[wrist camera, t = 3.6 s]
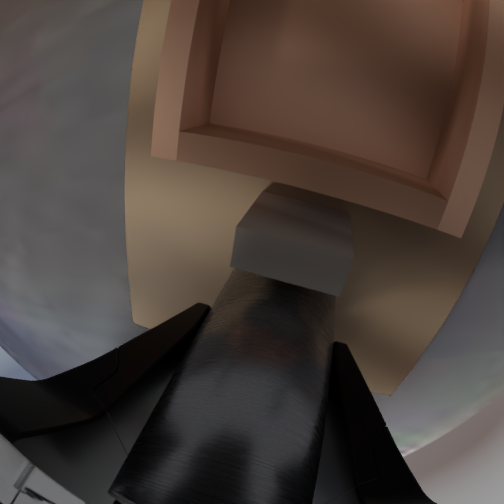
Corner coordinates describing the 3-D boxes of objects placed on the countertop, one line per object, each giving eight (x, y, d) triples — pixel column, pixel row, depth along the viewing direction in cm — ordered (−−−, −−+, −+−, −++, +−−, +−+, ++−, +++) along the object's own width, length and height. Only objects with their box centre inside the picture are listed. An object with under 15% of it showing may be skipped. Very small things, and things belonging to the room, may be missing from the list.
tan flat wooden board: (389, 381, 14) (391, 444, 11) (142, 311, 16) (103, 360, 13) (525, 11, 5) (582, -4, 1) (177, -70, 6) (122, -107, 3)
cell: (318, 338, 12) (268, 573, 4) (227, 312, 13) (119, 525, 5) (350, 258, 10) (327, 579, 2) (240, 228, 11) (66, 495, 3)
